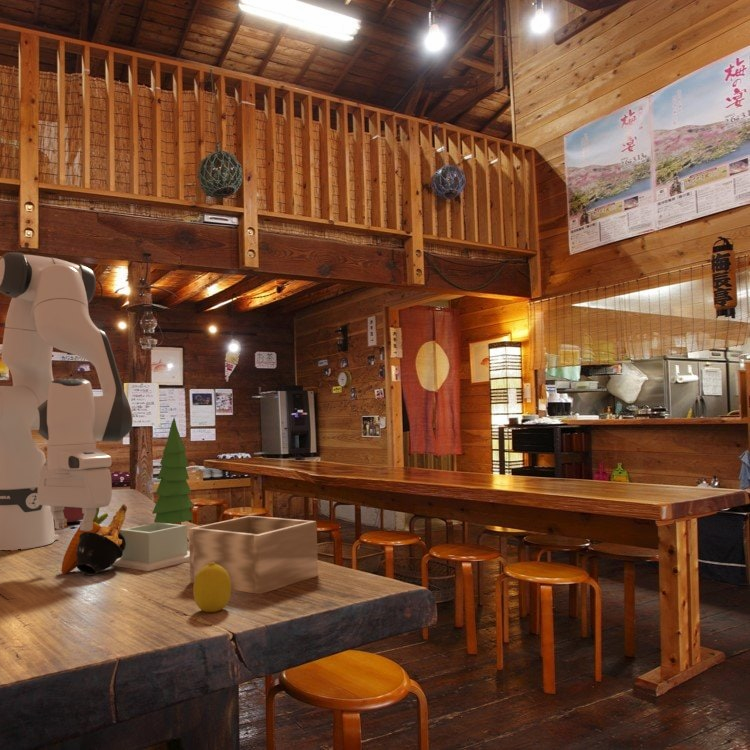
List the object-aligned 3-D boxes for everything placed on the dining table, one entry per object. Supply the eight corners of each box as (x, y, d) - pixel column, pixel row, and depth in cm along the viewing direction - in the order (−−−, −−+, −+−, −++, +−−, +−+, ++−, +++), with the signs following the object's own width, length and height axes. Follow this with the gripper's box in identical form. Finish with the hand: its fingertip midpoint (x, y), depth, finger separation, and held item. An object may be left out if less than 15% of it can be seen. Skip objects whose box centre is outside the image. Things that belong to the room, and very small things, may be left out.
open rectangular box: (104, 565, 137) (103, 530, 137) (160, 551, 149) (159, 520, 149) (147, 572, 129) (146, 536, 130) (203, 557, 141) (202, 524, 141)
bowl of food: (73, 553, 121) (123, 475, 134) (52, 567, 128) (101, 491, 141) (116, 578, 125) (161, 500, 137) (93, 590, 132) (138, 514, 144)
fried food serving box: (190, 585, 118) (189, 528, 119) (250, 566, 131) (249, 515, 131) (259, 597, 109) (258, 535, 109) (318, 576, 121) (316, 521, 122)
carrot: (58, 565, 126) (101, 500, 136) (46, 568, 129) (88, 505, 139) (79, 579, 128) (119, 514, 138) (66, 582, 131) (107, 518, 141)
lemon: (197, 611, 102) (196, 559, 103) (234, 609, 103) (232, 557, 103) (190, 623, 97) (189, 567, 97) (229, 620, 97) (227, 565, 98)
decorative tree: (176, 546, 154) (173, 416, 155) (143, 545, 157) (140, 417, 159) (201, 538, 163) (198, 415, 165) (169, 537, 166) (166, 416, 168)
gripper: (28, 460, 136) (29, 529, 135) (87, 460, 124) (88, 535, 123) (57, 458, 141) (59, 524, 140) (117, 457, 129) (118, 529, 128)
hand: (73, 529), depth 131 cm, fingers open, 7 cm apart
